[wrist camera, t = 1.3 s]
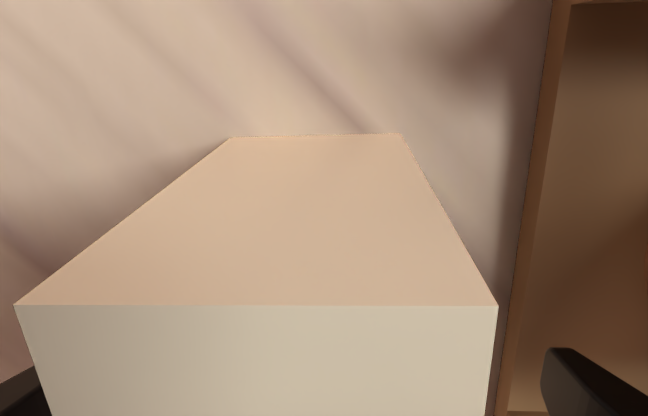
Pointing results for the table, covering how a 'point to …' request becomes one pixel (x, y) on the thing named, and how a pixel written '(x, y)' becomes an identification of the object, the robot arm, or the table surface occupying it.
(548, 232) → the rack
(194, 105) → the table surface
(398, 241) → the cream rectangular block
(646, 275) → the peach rounded capsule
